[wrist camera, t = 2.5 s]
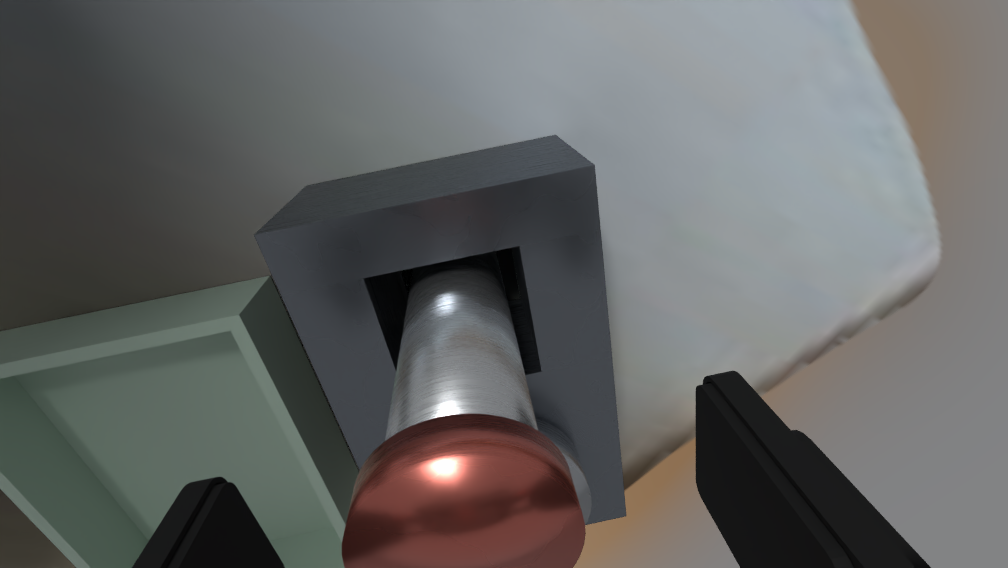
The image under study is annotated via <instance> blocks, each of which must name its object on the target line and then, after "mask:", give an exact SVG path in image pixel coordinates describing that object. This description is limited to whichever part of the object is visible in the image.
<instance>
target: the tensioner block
mask: <svg viewBox="0 0 1008 568" xmlns="http://www.w3.org/2000/svg"><path fill="white" fill-rule="evenodd" d="M254 236H255V239H256V241H257V243H258V245H259V247H260V250H261V252H262V254H263V256H264V259H265V261H266V263H267V265H268V267H269V270H270V272H271V274H272V276H273V279H274V281H275V283H276V285H277V287H278V290H279V292H280V294H281V296H282V299H283V301H284V303H285V305H286V307H287V310H288V312H289V314H290V316H291V319H292V321H293V323H294V325H295V328H296V330H297V332H298V334H299V336H300V339H301V341H302V343H303V345H304V348H305V350H306V352H307V354H308V356H309V359H310V361H311V363H312V365H313V368H314V370H315V372H316V374H317V376H318V379H319V381H320V383H321V385H322V388H323V390H324V392H325V394H326V396H327V399H328V401H329V403H330V405H331V408H332V410H333V412H334V414H335V416H336V419H337V421H338V423H339V425H340V428H341V430H342V432H343V434H344V436H345V439H346V441H347V443H348V445H349V448H350V450H351V452H352V454H353V456H354V459H355V461H356V463H357V465H358V468H359V470H360V469H361V467H362V466H363V464H364V462H365V461H366V459H367V458H368V457H369V456H370V455H371V454H372V452H373V451H374V450H375V449H376V448H377V447H379V446H380V445H381V444H382V443H383V442H384V441H385V437H386V431H387V425H388V419H389V412H390V406H391V400H392V394H393V388H394V382H395V376H396V370H397V364H398V358H399V352H400V346H401V340H402V333H403V327H404V321H405V315H406V309H407V303H408V297H409V296H408V293H407V290H406V287H405V283H404V280H403V277H402V274H401V270H406V269H411V268H416V267H420V266H425V265H430V264H435V263H440V262H444V261H449V260H454V259H459V258H464V257H469V256H473V255H478V254H483V253H488V252H493V251H498V250H502V249H507V248H511V251H512V256H513V261H514V267H515V272H516V278H517V283H518V288H519V294H520V299H516V300H511V301H508V304H509V309H510V313H511V317H512V321H513V326H514V330H515V334H516V338H517V343H518V347H519V351H520V355H521V360H522V364H523V368H524V372H525V377H526V381H527V385H528V389H529V394H530V398H531V402H532V406H533V411H534V415H535V419H536V423H537V427H538V431H539V432H541V433H542V434H544V435H545V436H546V437H548V438H549V439H550V440H551V441H552V442H553V443H554V444H555V445H556V446H557V447H558V448H559V450H560V451H561V453H562V454H563V455H564V457H565V459H566V461H567V464H568V466H569V469H570V473H571V476H572V480H573V483H574V486H575V490H576V493H577V497H578V500H579V504H580V507H581V511H582V514H583V518H584V522H585V525H587V524H592V523H597V522H602V521H606V520H611V519H616V518H620V517H624V516H626V507H625V496H624V485H623V474H622V463H621V452H620V441H619V430H618V419H617V407H616V396H615V385H614V374H613V363H612V352H611V341H610V330H609V319H608V308H607V297H606V286H605V275H604V263H603V252H602V241H601V230H600V219H599V208H598V197H597V186H596V175H595V165H594V164H593V163H591V162H590V161H589V160H587V159H586V158H585V157H584V156H582V155H581V154H580V153H578V152H577V151H576V150H575V149H573V148H572V147H571V146H569V145H568V144H567V143H566V142H564V141H563V140H562V139H560V138H559V137H558V136H557V135H553V136H548V137H543V138H538V139H533V140H528V141H524V142H519V143H514V144H509V145H504V146H499V147H494V148H489V149H484V150H479V151H475V152H470V153H465V154H460V155H455V156H450V157H445V158H440V159H435V160H430V161H426V162H421V163H416V164H411V165H406V166H401V167H396V168H391V169H386V170H381V171H377V172H372V173H367V174H362V175H357V176H352V177H347V178H342V179H337V180H332V181H328V182H323V183H318V184H313V185H308V186H305V187H304V188H303V189H302V190H301V191H300V192H299V193H298V194H297V195H296V196H295V197H294V198H293V199H292V200H291V201H290V202H288V203H287V204H286V205H285V206H284V207H283V208H282V209H281V210H280V211H279V212H278V213H277V214H276V215H275V216H274V217H273V218H271V219H270V220H269V221H268V222H267V223H266V224H265V225H264V226H263V227H262V228H261V229H260V230H259V231H258V232H257V233H256V234H255V235H254Z"/></svg>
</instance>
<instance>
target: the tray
mask: <svg viewBox="0 0 1008 568" xmlns="http://www.w3.org/2000/svg"><path fill="white" fill-rule="evenodd" d="M358 473H359V471H358V469H357V467H356V464H355V462H354V460H353V458H352V455H351V453H350V451H349V449H348V447H347V444H346V442H345V440H344V438H343V436H342V433H341V431H340V429H339V427H338V425H337V422H336V420H335V418H334V416H333V413H332V411H331V409H330V407H329V405H328V402H327V400H326V398H325V396H324V394H323V391H322V389H321V387H320V385H319V382H318V380H317V378H316V376H315V374H314V371H313V369H312V367H311V365H310V363H309V360H308V358H307V356H306V354H305V351H304V349H303V347H302V345H301V343H300V340H299V338H298V336H297V334H296V332H295V329H294V327H293V325H292V323H291V320H290V318H289V316H288V314H287V312H286V309H285V307H284V305H283V303H282V301H281V298H280V296H279V294H278V292H277V289H276V287H275V285H274V283H273V281H272V278H271V276H265V277H261V278H256V279H251V280H246V281H241V282H236V283H232V284H227V285H222V286H217V287H212V288H207V289H202V290H198V291H193V292H188V293H183V294H178V295H173V296H169V297H164V298H159V299H154V300H149V301H144V302H140V303H135V304H130V305H125V306H120V307H115V308H111V309H106V310H101V311H96V312H91V313H86V314H81V315H77V316H72V317H67V318H62V319H57V320H52V321H48V322H43V323H38V324H33V325H28V326H23V327H19V328H14V329H9V330H4V331H0V489H1V490H2V491H3V492H4V493H5V494H6V495H7V496H8V497H9V498H10V499H11V500H12V502H13V503H14V504H15V505H16V506H17V507H18V508H19V509H20V510H21V511H22V512H23V513H24V514H25V515H26V516H27V517H28V518H29V519H30V520H31V521H32V522H33V523H34V524H35V525H36V526H37V527H38V528H39V529H40V530H41V532H42V533H43V534H44V535H45V536H46V537H47V538H48V539H49V540H50V541H51V542H52V543H53V544H54V545H55V546H56V547H57V548H58V549H59V550H60V551H61V552H62V553H63V554H64V555H65V556H66V557H67V558H68V559H69V560H70V562H71V563H72V564H73V565H74V566H75V567H76V568H132V567H133V565H134V563H135V562H136V560H137V559H138V557H139V556H140V554H141V552H142V551H143V549H144V548H145V546H146V545H147V543H148V541H149V540H150V538H151V537H152V535H153V534H154V532H155V531H156V529H157V527H158V526H159V524H160V523H161V521H162V520H163V518H164V516H165V515H166V513H167V512H168V510H169V509H170V507H171V505H172V504H173V502H174V501H175V499H176V498H177V496H178V494H179V493H180V491H181V490H182V489H183V487H184V486H185V485H187V484H188V483H190V482H195V481H199V480H204V479H209V478H214V477H223V478H225V479H226V480H227V482H232V483H234V484H235V485H236V487H237V488H238V490H239V492H240V493H241V495H242V497H243V498H244V500H245V502H246V503H247V505H248V507H249V508H250V510H251V511H252V513H253V515H254V516H255V518H256V520H257V521H258V523H259V525H260V526H261V528H262V529H263V531H264V533H265V534H266V536H267V538H268V539H269V541H270V543H271V544H272V546H273V548H274V549H275V551H276V552H277V554H278V556H279V557H280V559H281V561H282V562H283V564H284V566H285V568H345V567H344V564H343V559H342V540H343V535H344V530H345V526H346V521H347V517H348V512H349V507H350V503H351V498H352V494H353V489H354V485H355V480H356V478H357V475H358Z"/></svg>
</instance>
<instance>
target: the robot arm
mask: <svg viewBox="0 0 1008 568" xmlns="http://www.w3.org/2000/svg"><path fill="white" fill-rule="evenodd" d="M696 483H697V488H698V491H699V494H700V496H701V498H702V500H703V502H704V504H705V505H706V507H707V509H708V511H709V513H710V514H711V516H712V518H713V520H714V521H715V523H716V525H717V526H718V529H719V530H720V532H721V534H722V536H723V538H724V539H725V541H726V543H727V545H728V546H729V548H730V550H731V552H732V553H733V555H734V557H735V559H736V561H737V562H738V564H739V566H740V568H931V567H930V566H929V565H928V564H927V563H926V562H925V561H924V560H923V559H922V558H921V557H920V556H919V554H918V553H917V552H916V551H915V550H914V549H913V548H912V547H911V546H910V545H909V544H908V543H907V542H906V541H905V540H904V538H903V537H901V535H900V534H899V533H898V532H897V531H896V530H895V529H894V528H893V527H892V526H891V525H890V524H889V522H888V521H887V520H886V519H885V518H884V517H883V516H882V515H881V514H880V513H879V512H878V511H877V510H876V509H875V508H874V507H873V505H872V504H871V503H869V501H868V500H867V499H866V498H865V497H864V496H863V495H862V494H861V493H860V492H859V490H857V488H856V487H855V486H854V485H853V484H852V483H851V482H850V481H849V480H848V479H847V478H846V477H845V476H844V474H842V472H841V471H840V470H839V469H838V468H837V467H836V466H835V465H834V464H833V463H832V462H831V461H830V460H829V458H828V457H826V455H825V454H824V453H823V452H822V451H821V450H820V449H819V448H818V447H817V446H816V445H815V444H814V443H813V441H812V440H811V439H809V438H808V437H807V436H806V435H805V434H804V433H802V432H800V431H798V430H792V431H791V430H790V429H789V428H788V427H787V426H786V425H785V424H784V423H783V421H782V420H781V419H780V418H779V417H778V416H777V415H776V414H775V413H774V411H773V410H772V409H771V408H770V407H769V406H768V405H767V404H766V403H765V402H764V400H763V399H762V398H761V397H760V396H759V395H758V394H757V393H756V392H755V390H754V389H753V388H752V387H751V386H750V385H749V384H748V383H747V382H746V381H745V379H744V378H743V377H742V376H741V375H740V374H739V373H738V372H736V371H729V372H725V373H720V374H715V375H710V376H706V377H705V378H704V380H703V385H699V386H697V387H696ZM132 568H285V566H284V564H283V562H282V561H281V559H280V557H279V556H278V554H277V552H276V551H275V549H274V548H273V546H272V544H271V543H270V541H269V539H268V538H267V536H266V534H265V533H264V531H263V529H262V528H261V526H260V525H259V523H258V521H257V520H256V518H255V516H254V515H253V513H252V511H251V510H250V508H249V507H248V505H247V503H246V502H245V500H244V498H243V497H242V495H241V493H240V492H239V490H238V488H237V487H236V485H235V484H234V483H232V482H227V480H226V479H225V478H223V477H214V478H209V479H204V480H199V481H195V482H190V483H188V484H187V485H185V486H184V487H183V489H182V490H181V491H180V493H179V494H178V496H177V498H176V499H175V501H174V502H173V504H172V505H171V507H170V509H169V510H168V512H167V513H166V515H165V516H164V518H163V520H162V521H161V523H160V524H159V526H158V527H157V529H156V531H155V532H154V534H153V535H152V537H151V538H150V540H149V541H148V543H147V545H146V546H145V548H144V549H143V551H142V552H141V554H140V556H139V557H138V559H137V560H136V562H135V563H134V565H133V567H132Z"/></svg>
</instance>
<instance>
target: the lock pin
mask: <svg viewBox="0 0 1008 568" xmlns="http://www.w3.org/2000/svg"><path fill="white" fill-rule="evenodd" d="M584 540H585V522H584V518H583V514H582V511H581V507H580V504H579V500H578V497H577V493H576V490H575V486H574V483H573V480H572V476H571V473H570V469H569V466H568V464H567V461H566V459H565V457H564V455H563V454H562V453H561V451H560V450H559V448H558V447H557V446H556V445H555V444H554V443H553V442H552V441H551V440H550V439H549V438H548V437H546V436H545V435H544V434H542V433H541V432H539V431H538V427H537V423H536V419H535V415H534V411H533V406H532V402H531V398H530V394H529V389H528V385H527V381H526V377H525V372H524V368H523V364H522V360H521V355H520V351H519V347H518V343H517V338H516V334H515V330H514V326H513V321H512V317H511V313H510V309H509V304H508V300H507V296H506V292H505V288H504V283H503V279H502V275H501V271H500V266H499V262H498V258H497V254H496V251H493V252H488V253H483V254H478V255H473V256H469V257H464V258H459V259H454V260H449V261H444V262H440V263H435V264H430V265H425V266H420V267H416V268H413V273H412V279H411V285H410V291H409V297H408V303H407V309H406V315H405V321H404V327H403V333H402V340H401V346H400V352H399V358H398V364H397V370H396V376H395V382H394V388H393V394H392V400H391V406H390V412H389V419H388V425H387V431H386V437H385V441H384V442H383V443H382V444H381V445H380V446H379V447H377V448H376V449H375V450H374V451H373V452H372V454H371V455H370V456H369V457H368V458H367V459H366V461H365V462H364V464H363V466H362V467H361V469H360V470H359V473H358V475H357V478H356V480H355V485H354V489H353V494H352V498H351V503H350V507H349V512H348V517H347V521H346V526H345V530H344V535H343V540H342V559H343V564H344V567H345V568H573V567H574V565H575V564H576V562H577V560H578V558H579V556H580V554H581V552H582V548H583V545H584Z"/></svg>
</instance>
